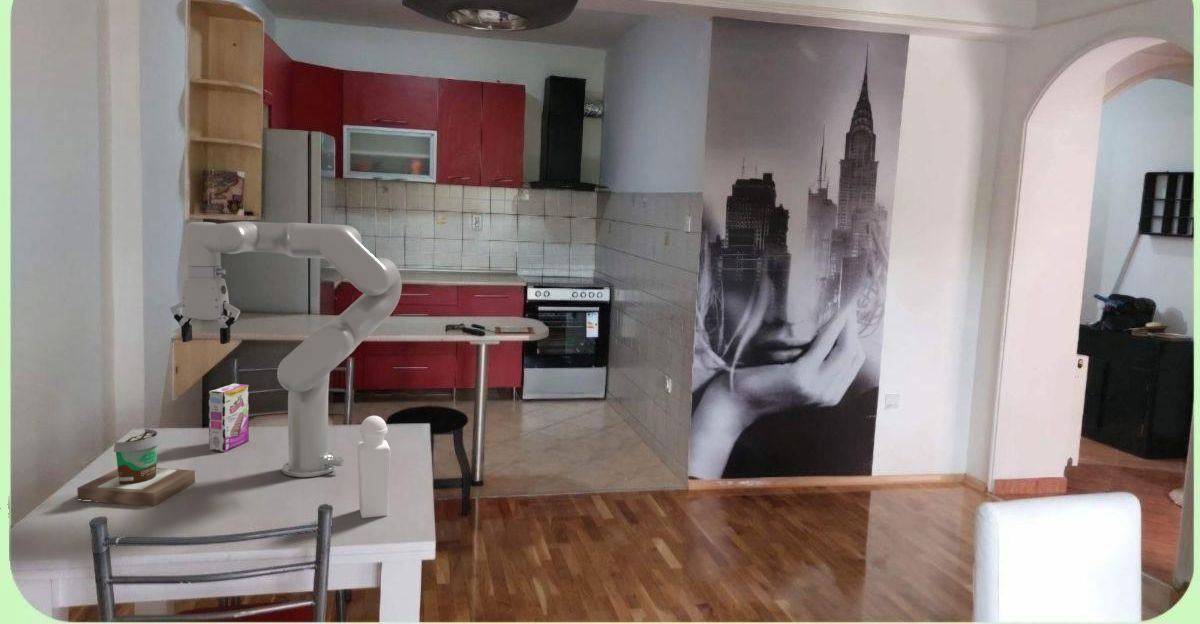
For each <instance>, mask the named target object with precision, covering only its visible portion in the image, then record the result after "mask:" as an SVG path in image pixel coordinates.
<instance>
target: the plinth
mask: <svg viewBox="0 0 1200 624" xmlns="http://www.w3.org/2000/svg"><path fill="white" fill-rule="evenodd" d="M195 483H196V470H194V469H182V468H181V469H180V468H165V467H164V468H163V467H156V477H155V478H153V479H151V480H148V481H145V482H141V483H134V484H119V475H118V468H116V469H114V470H112V471H110V472H107V473H106V474H103V475H101V476H99V477H97V478H95V479H93V480H90V481H89V482H87V483H84V484H82V485H80V486H78V487H77V488H76V489H77V490H76V492H77V500H78V499H81V500H91V501H98V502H97V503H101V502H105V504H117V505H131V506H133V505H134V506H145V507H146V506H148V507H156V506H158V505H159V504H161V503H163V502H164V501H166V500H168V499H169V498H171V497H174V496H175V495H176V494H178V493H180V492H182V491H183V490H185V489H187V488H188V487H191V486H192V485H194V484H195Z"/></svg>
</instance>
